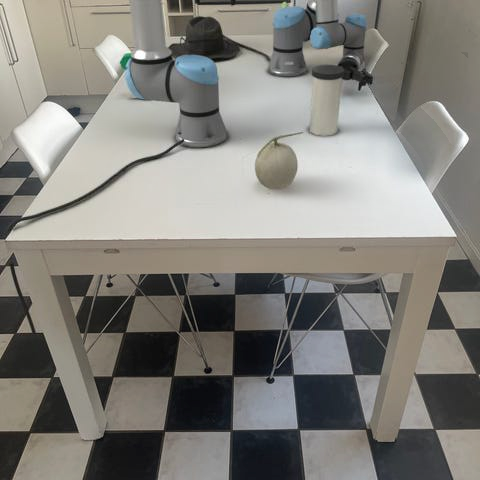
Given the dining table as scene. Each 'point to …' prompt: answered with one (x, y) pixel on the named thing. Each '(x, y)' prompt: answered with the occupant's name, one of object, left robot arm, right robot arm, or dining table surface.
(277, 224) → the dining table surface
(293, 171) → the fruit
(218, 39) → the hat
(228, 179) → the dining table surface
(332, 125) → the jar
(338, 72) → the lid
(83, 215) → the dining table surface
